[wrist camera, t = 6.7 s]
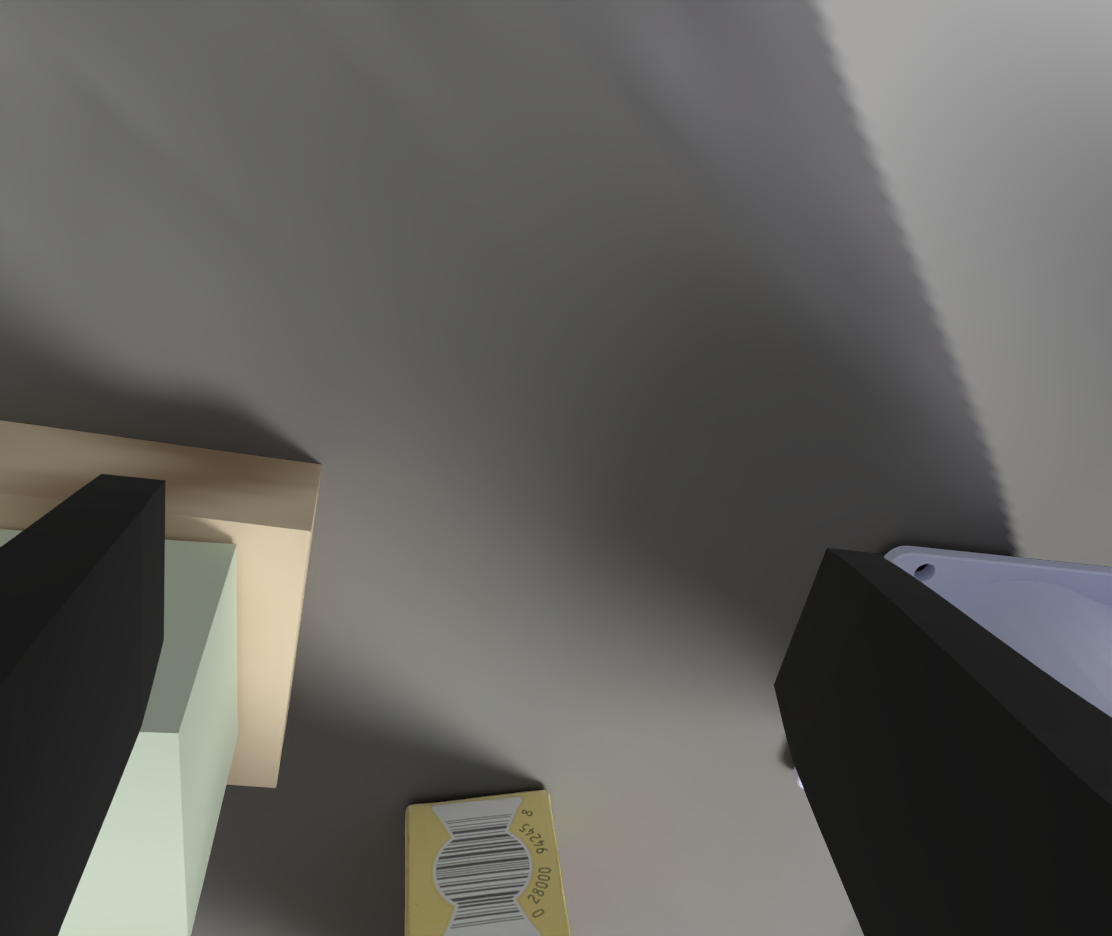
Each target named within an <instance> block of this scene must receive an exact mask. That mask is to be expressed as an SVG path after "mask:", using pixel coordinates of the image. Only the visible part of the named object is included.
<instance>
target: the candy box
mask: <svg viewBox="0 0 1112 936" xmlns="http://www.w3.org/2000/svg"><path fill="white" fill-rule="evenodd" d="M405 936H570V929H569V923H568V917H567V910H566V904H565V897H564V891H563V884H562V878H561V871H560V865H559V858H558V851H557V844H556V838H555V831H554V824H553V817H552V810H551V801H550V794H549V792H548V791H547V790H537V791H526V792H518V793H510V794H501V795H492V796H484V797H476V798H468V799H461V800H451V801H443V802H435V803H421V804H413V805H409V806H408V807H407V809H406V813H405Z"/></svg>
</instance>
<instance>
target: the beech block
mask: <svg viewBox="0 0 1112 936" xmlns="http://www.w3.org/2000/svg"><path fill="white" fill-rule="evenodd" d="M321 469H322V465H321V464H314V463H306V462H299V461H292V460H285V459H277V458H270V457H263V456H256V455H248V454H241V453H234V452H227V451H219V450H212V449H205V448H198V447H190V446H183V445H176V444H169V443H161V442H154V441H147V440H140V439H132V438H125V437H118V436H111V435H103V434H96V433H89V432H81V431H74V430H67V429H60V428H52V427H45V426H38V425H31V424H23V423H16V422H9V421H2V420H0V529H7V530H25V529H26V528H27V527H29V526H30V525H31V524H33V523H34V522H36V521H37V520H38V519H40V518H41V517H42V516H44V515H45V514H46V513H48V512H49V511H50V510H52V509H53V508H54V507H56V506H57V505H58V504H60V503H61V502H63V501H64V500H65V499H67V498H68V497H69V496H71V495H72V494H74V493H75V492H76V491H78V490H79V489H81V488H82V487H83V486H85V485H86V484H88V483H89V482H90V481H92V480H93V479H95V478H96V477H98V476H99V475H100V474H108V475H118V476H128V477H138V478H148V479H157V480H166V482H165V540H179V541H194V542H210V543H226V544H237V674H238V738H237V742H236V747H235V751H234V755H233V759H232V764H231V768H230V772H229V776H228V781H227V785H240V786H254V787H268V788H276V786H277V780H278V773H279V767H280V761H281V754H282V748H283V742H284V736H285V729H286V723H287V717H288V711H289V704H290V696H291V689H292V682H293V674H294V667H295V660H296V652H297V645H298V638H299V631H300V623H301V616H302V609H303V601H304V594H305V587H306V579H307V572H308V565H309V557H310V550H311V543H312V535H313V528H314V521H315V513H316V506H317V499H318V491H319V484H320V477H321Z"/></svg>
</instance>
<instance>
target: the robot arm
mask: <svg viewBox="0 0 1112 936" xmlns="http://www.w3.org/2000/svg"><path fill="white" fill-rule="evenodd" d="M165 482H166V480H157V479H148V478H138V477H128V476H118V475H108V474H100V475H99V476H98V477H96V478H95V479H93V480H92V481H90V482H89V483H88V484H86V485H85V486H83V487H82V488H81V489H79V490H78V491H76V492H75V493H74V494H72V495H71V496H69V497H68V498H67V499H65V500H64V501H63V502H61V503H60V504H58V505H57V506H56V507H54V508H53V509H52V510H50V511H49V512H48V513H46V514H45V515H44V516H42V517H41V518H40V519H38V520H37V521H36V522H34V523H33V524H31V525H30V526H29V527H27V528H26V529H25V530H23V531H22V532H20V533H19V534H18V535H16V536H15V537H14V538H12V539H11V540H10V541H8V542H7V543H5V544H4V545H2V546H1V547H0V936H58V935H59V932H60V929H61V926H62V924H63V921H64V919H65V916H66V914H67V912H68V909H69V907H70V904H71V902H72V899H73V897H74V894H75V892H76V889H77V887H78V884H79V882H80V879H81V877H82V874H83V872H84V869H85V867H86V864H87V862H88V859H89V857H90V855H91V852H92V850H93V847H94V845H95V842H96V840H97V837H98V835H99V832H100V830H101V827H102V825H103V822H104V820H105V817H106V815H107V812H108V810H109V807H110V805H111V803H112V800H113V798H114V795H115V793H116V790H117V788H118V785H119V783H120V780H121V777H122V775H123V772H124V770H125V767H126V765H127V762H128V760H129V757H130V755H131V752H132V750H133V747H134V745H135V742H136V740H137V737H138V734H139V732H140V729H141V727H142V723H143V719H144V716H145V712H146V708H147V704H148V701H149V697H150V693H151V689H152V686H153V682H154V678H155V674H156V670H157V666H158V662H159V658H160V654H161V650H162V646H163V642H164V577H165ZM923 564H928V565H927V566H926V567H925V569H923V570H921V571H919V572H915V571H916V570H917V568H918V567H920V566H921V565H923ZM774 687H775V691H776V695H777V700H778V704H779V708H780V713H781V717H782V721H783V726H784V730H785V733H786V737H787V741H788V744H789V748H790V752H791V755H792V759H793V763H794V765H795V767H794V772H793V774H794V776H795V779H796V781H797V783H798V786H799V787H801V788H802V789H804V791H805V793H806V796H807V798H808V801H809V803H810V806H811V808H812V811H813V813H814V816H815V818H816V821H817V823H818V826H819V828H820V830H821V833H822V835H823V838H824V840H825V842H826V845H827V847H828V849H829V852H830V854H831V857H832V859H833V861H834V864H835V866H836V869H837V871H838V873H839V876H840V878H841V881H842V883H843V885H844V888H845V890H846V893H847V895H848V897H849V900H850V902H851V905H852V907H853V909H854V912H855V914H856V917H857V919H858V921H859V924H860V926H861V929H862V931H863V933H864V936H1112V567H1106V566H1097V565H1088V564H1078V563H1069V562H1059V561H1049V560H1040V559H1030V558H1021V557H1011V556H1002V555H992V554H983V553H973V552H964V551H954V550H945V549H935V548H925V547H916V546H899V547H896V548H894V549H892V550H890V551H889V552H888V553H887V554H885V556H884V558H883V557H882V556H880V555H878V554H876V553H870V552H860V551H850V550H840V549H831V548H827V549H826V552H825V554H824V557H823V559H822V562H821V565H820V567H819V570H818V572H817V575H816V577H815V580H814V583H813V585H812V588H811V590H810V593H809V596H808V598H807V601H806V603H805V606H804V608H803V611H802V614H801V616H800V619H799V621H798V624H797V627H796V629H795V632H794V634H793V637H792V640H791V642H790V645H789V647H788V650H787V652H786V655H785V658H784V660H783V663H782V665H781V668H780V671H779V673H778V676H777V678H776V681H775V684H774Z"/></svg>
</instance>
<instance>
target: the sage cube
mask: <svg viewBox="0 0 1112 936" xmlns="http://www.w3.org/2000/svg"><path fill="white" fill-rule="evenodd" d="M22 531H23V530H7V529H0V547H1V546H2V545H4V544H5V543H7V542H8V541H10V540H11V539H12V538H14V537H15V536H16V535H18V534H19V533H20V532H22ZM237 738H238V674H237V544H226V543H210V542H194V541H179V540H165V577H164V642H163V646H162V650H161V654H160V658H159V662H158V666H157V670H156V674H155V678H154V682H153V686H152V689H151V693H150V697H149V701H148V704H147V708H146V712H145V716H144V719H143V723H142V727H141V729H140V732H139V734H138V737H137V740H136V742H135V745H134V747H133V750H132V752H131V755H130V757H129V760H128V762H127V765H126V767H125V770H124V772H123V775H122V777H121V780H120V783H119V785H118V788H117V790H116V793H115V795H114V798H113V800H112V803H111V805H110V807H109V810H108V812H107V815H106V817H105V820H104V822H103V825H102V827H101V830H100V832H99V835H98V837H97V840H96V842H95V845H94V847H93V850H92V852H91V855H90V857H89V859H88V862H87V864H86V867H85V869H84V872H83V874H82V877H81V879H80V882H79V884H78V887H77V889H76V892H75V894H74V897H73V899H72V902H71V904H70V907H69V909H68V912H67V914H66V916H65V919H64V921H63V924H62V926H61V929H60V932H59V935H58V936H191V933H192V929H193V924H194V920H195V916H196V912H197V908H198V903H199V899H200V895H201V891H202V886H203V882H204V878H205V874H206V869H207V865H208V861H209V857H210V852H211V848H212V844H213V840H214V836H215V831H216V827H217V823H218V819H219V814H220V810H221V806H222V802H223V797H224V793H225V789H226V785H227V781H228V776H229V772H230V768H231V764H232V759H233V755H234V751H235V747H236V742H237Z"/></svg>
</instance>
